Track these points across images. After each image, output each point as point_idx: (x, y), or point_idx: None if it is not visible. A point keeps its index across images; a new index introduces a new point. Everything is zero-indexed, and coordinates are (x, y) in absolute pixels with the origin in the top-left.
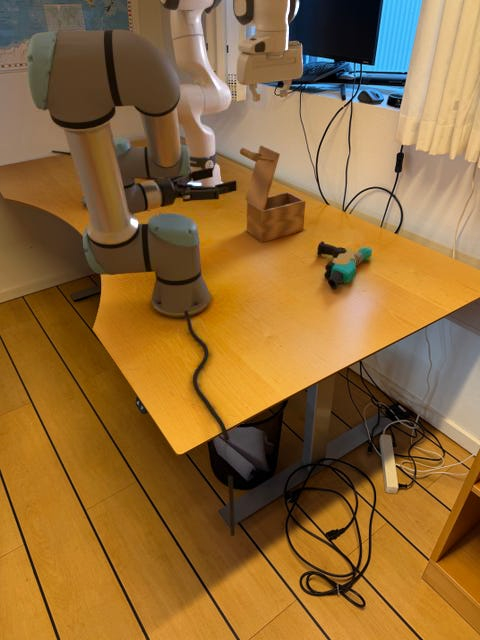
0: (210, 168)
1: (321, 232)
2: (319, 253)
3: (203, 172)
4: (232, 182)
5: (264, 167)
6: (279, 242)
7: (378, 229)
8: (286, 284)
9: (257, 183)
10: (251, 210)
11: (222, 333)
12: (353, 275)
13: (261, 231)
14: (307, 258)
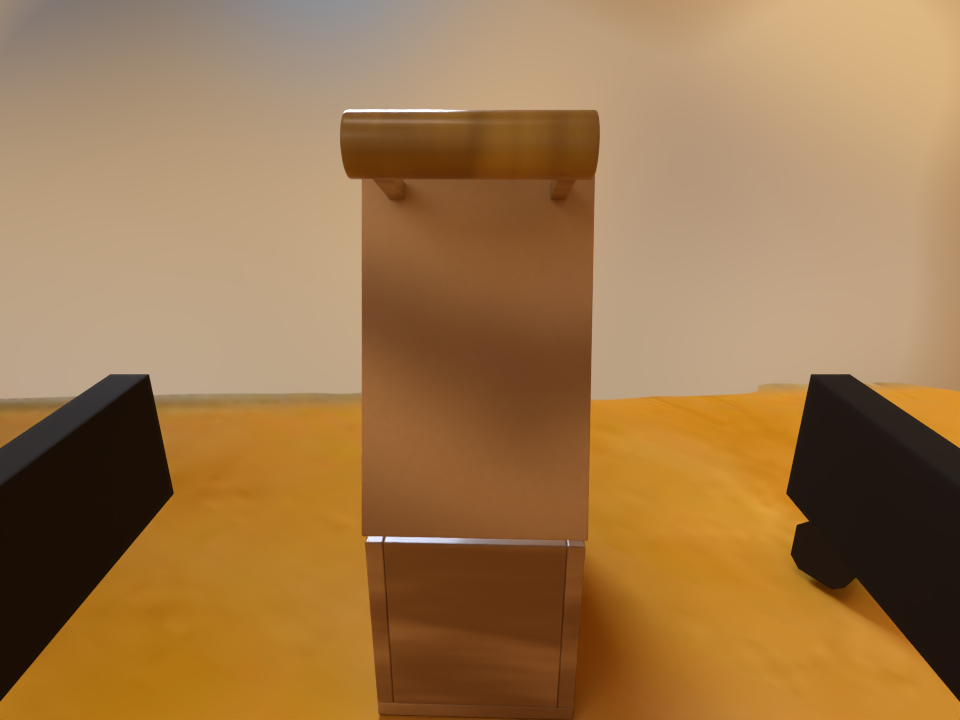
0: (128, 388)
1: (599, 491)
2: (852, 579)
3: (52, 497)
4: (891, 406)
5: (486, 258)
6: (618, 648)
7: (652, 401)
8: None
9: (454, 385)
10: (434, 580)
11: None
12: None
13: (565, 666)
14: (846, 637)
